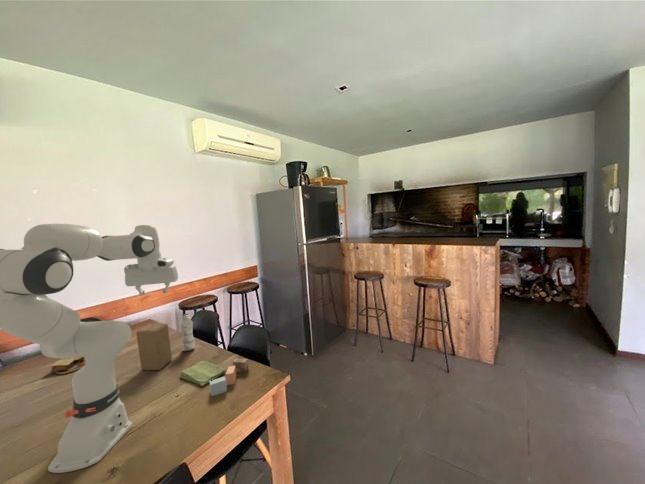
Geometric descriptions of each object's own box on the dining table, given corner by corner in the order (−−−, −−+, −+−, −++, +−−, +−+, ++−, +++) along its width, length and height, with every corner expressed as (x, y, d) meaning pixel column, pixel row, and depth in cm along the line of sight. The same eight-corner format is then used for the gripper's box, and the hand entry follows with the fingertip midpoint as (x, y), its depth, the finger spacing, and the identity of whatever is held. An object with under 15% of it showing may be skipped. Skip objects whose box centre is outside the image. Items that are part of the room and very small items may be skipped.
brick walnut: (248, 369, 129) (247, 359, 128) (245, 372, 126) (244, 362, 125) (236, 368, 130) (235, 358, 130) (233, 372, 127) (232, 361, 127)
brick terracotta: (234, 384, 118) (233, 373, 117) (227, 385, 118) (225, 374, 117) (236, 376, 124) (235, 365, 123) (229, 377, 123) (228, 366, 123)
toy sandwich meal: (76, 373, 135) (75, 364, 135) (45, 377, 133) (44, 368, 133) (93, 360, 147) (92, 351, 147) (65, 363, 146) (64, 355, 145)
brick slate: (225, 387, 116) (224, 376, 115) (227, 391, 113) (225, 379, 113) (210, 392, 113) (209, 381, 113) (211, 396, 110) (210, 385, 110)
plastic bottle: (182, 348, 153) (178, 314, 151) (195, 345, 156) (191, 311, 154) (181, 354, 148) (177, 318, 146) (195, 350, 150) (191, 315, 148)
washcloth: (202, 389, 116) (202, 382, 116) (178, 378, 126) (177, 371, 125) (227, 373, 128) (227, 366, 127) (203, 364, 137) (203, 357, 136)
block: (173, 359, 142) (168, 322, 140) (159, 370, 132) (154, 331, 130) (155, 359, 143) (150, 323, 141) (140, 371, 133) (135, 331, 131)
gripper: (119, 266, 114) (124, 298, 116) (172, 261, 117) (175, 293, 119) (127, 263, 120) (131, 294, 122) (177, 259, 124) (180, 289, 125)
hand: (154, 293), depth 120 cm, fingers open, 8 cm apart
